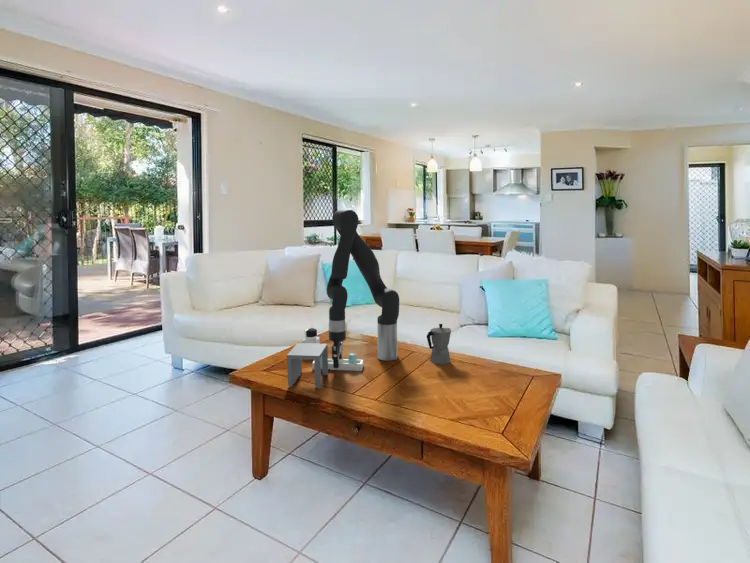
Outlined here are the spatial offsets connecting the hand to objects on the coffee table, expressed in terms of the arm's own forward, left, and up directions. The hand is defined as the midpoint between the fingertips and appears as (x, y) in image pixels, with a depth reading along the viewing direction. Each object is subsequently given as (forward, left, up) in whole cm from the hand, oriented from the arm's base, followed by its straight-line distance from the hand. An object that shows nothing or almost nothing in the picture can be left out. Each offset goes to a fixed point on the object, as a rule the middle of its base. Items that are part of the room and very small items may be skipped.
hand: (337, 364), depth 200 cm
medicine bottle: (+17, -20, -2) cm, 26 cm away
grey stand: (+9, +16, -2) cm, 18 cm away
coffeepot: (-45, -11, -2) cm, 47 cm away
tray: (0, 0, -2) cm, 2 cm away
